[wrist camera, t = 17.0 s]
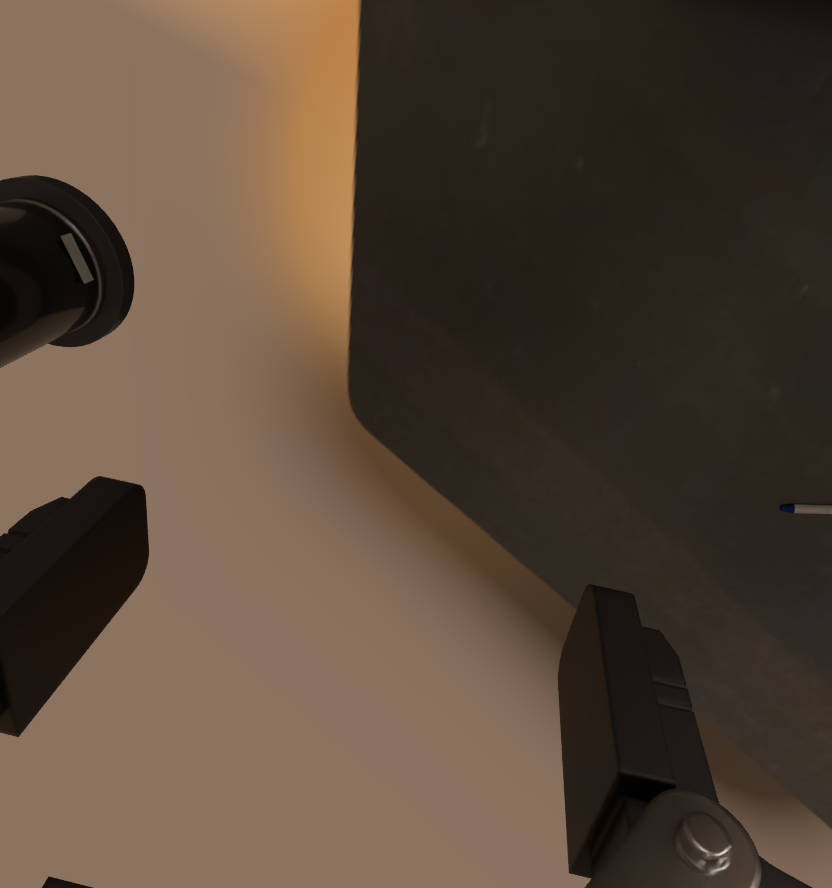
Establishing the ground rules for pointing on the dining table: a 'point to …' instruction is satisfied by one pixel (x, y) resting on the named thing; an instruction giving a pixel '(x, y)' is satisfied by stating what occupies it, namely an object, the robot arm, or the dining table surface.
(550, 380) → the dining table surface
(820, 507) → the ballpoint pen
